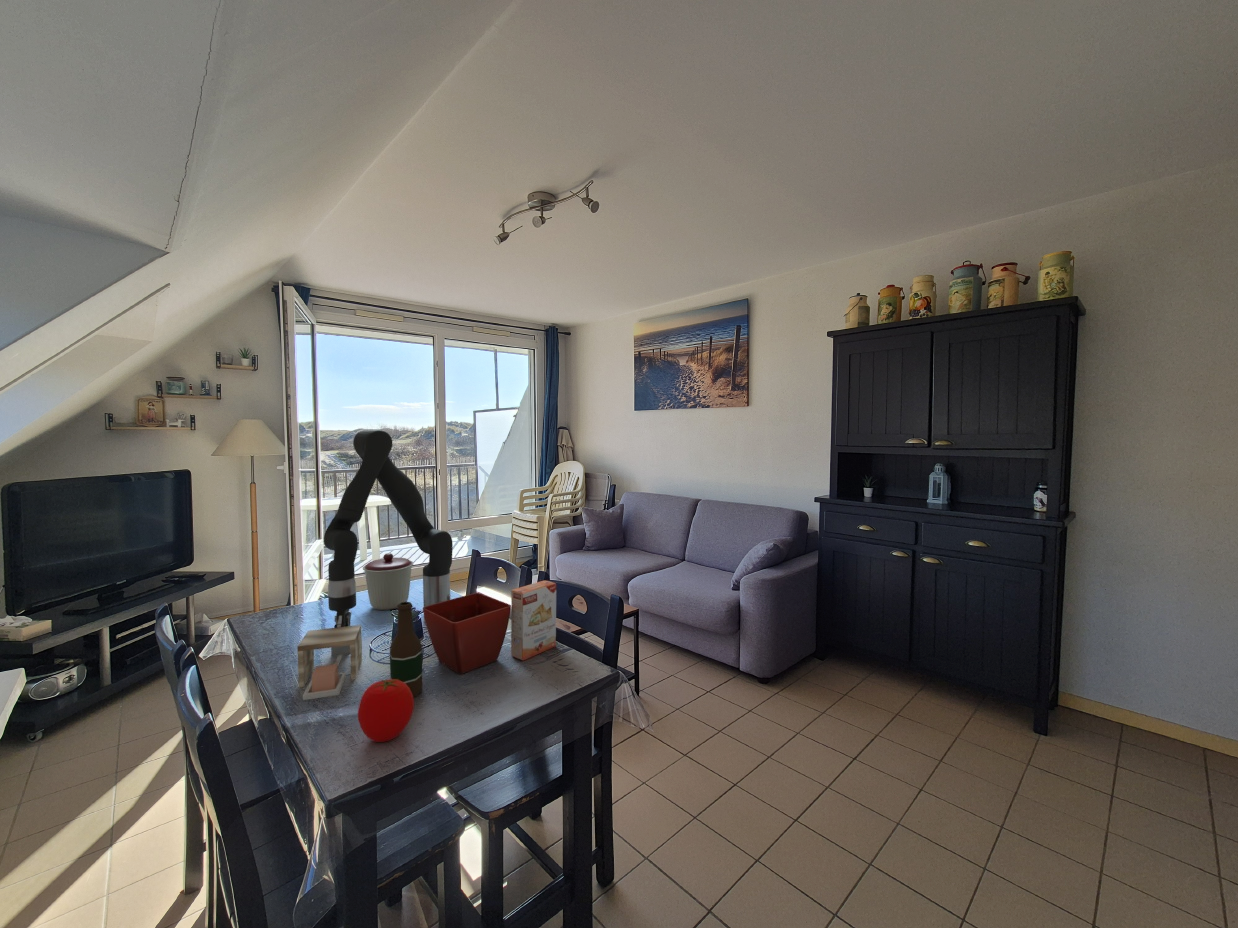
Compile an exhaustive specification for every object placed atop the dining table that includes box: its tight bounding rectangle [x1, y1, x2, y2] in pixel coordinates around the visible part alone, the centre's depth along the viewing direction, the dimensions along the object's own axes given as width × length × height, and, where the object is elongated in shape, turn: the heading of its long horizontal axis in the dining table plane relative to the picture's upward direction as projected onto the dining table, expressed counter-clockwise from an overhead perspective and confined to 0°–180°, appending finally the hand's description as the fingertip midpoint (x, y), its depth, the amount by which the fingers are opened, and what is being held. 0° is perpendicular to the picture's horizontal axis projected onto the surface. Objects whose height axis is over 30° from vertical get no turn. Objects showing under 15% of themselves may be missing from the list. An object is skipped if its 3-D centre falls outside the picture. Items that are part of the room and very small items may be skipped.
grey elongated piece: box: [302, 645, 350, 701], centre depth 138 cm, size 27×8×8 cm, turn 20°
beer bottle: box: [389, 601, 423, 698], centre depth 130 cm, size 8×8×24 cm
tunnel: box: [296, 624, 363, 688], centre depth 137 cm, size 11×13×12 cm
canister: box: [362, 552, 414, 611], centre depth 196 cm, size 18×18×21 cm
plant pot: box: [422, 592, 511, 675], centre depth 148 cm, size 19×19×17 cm
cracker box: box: [510, 580, 557, 662], centre depth 155 cm, size 14×6×21 cm, turn 141°
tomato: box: [357, 678, 415, 743], centre depth 111 cm, size 11×11×13 cm
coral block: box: [311, 663, 339, 692], centre depth 130 cm, size 5×5×5 cm
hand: (343, 647), depth 155 cm, fingers closed
